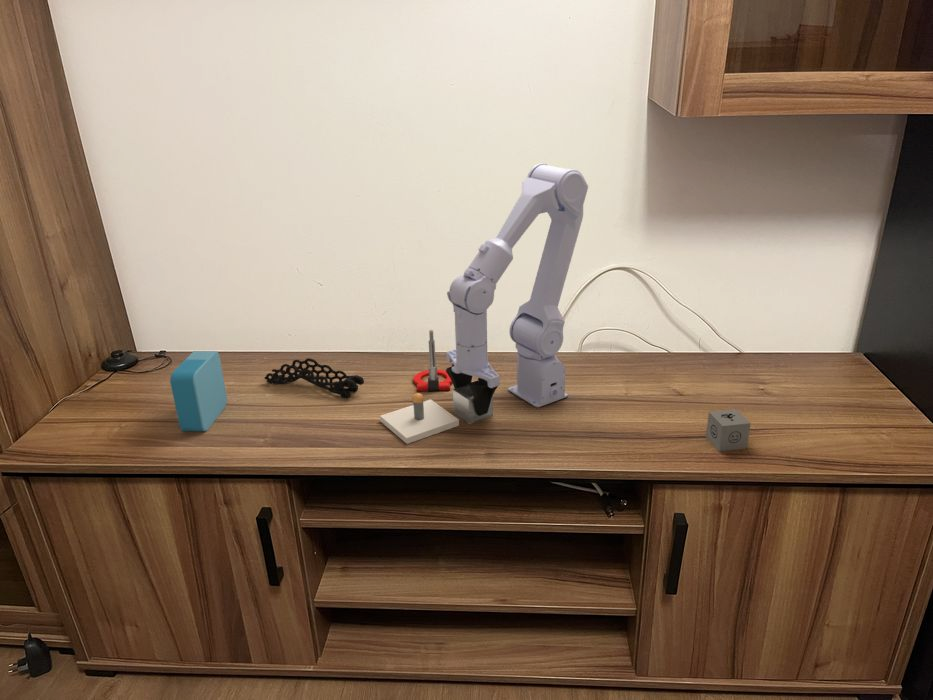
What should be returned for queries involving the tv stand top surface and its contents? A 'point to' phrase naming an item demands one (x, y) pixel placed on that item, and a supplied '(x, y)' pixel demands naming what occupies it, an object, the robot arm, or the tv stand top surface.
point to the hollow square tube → (467, 405)
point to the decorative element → (317, 377)
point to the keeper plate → (419, 420)
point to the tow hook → (432, 373)
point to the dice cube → (728, 430)
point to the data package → (198, 390)
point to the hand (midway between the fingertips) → (473, 407)
